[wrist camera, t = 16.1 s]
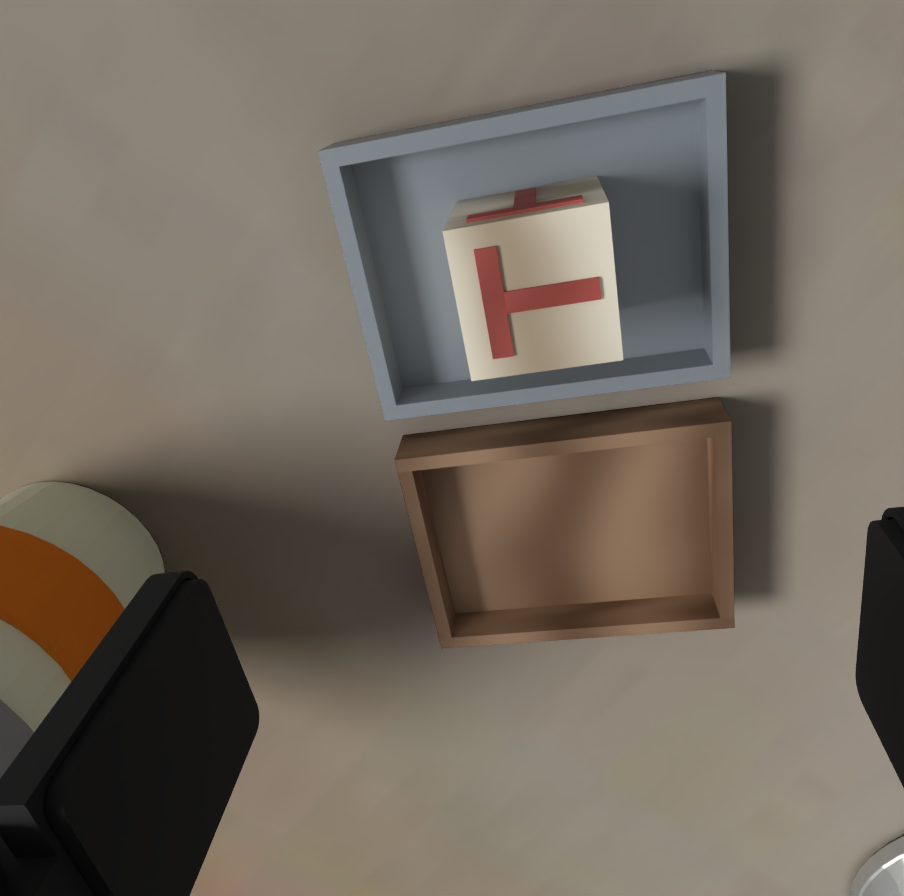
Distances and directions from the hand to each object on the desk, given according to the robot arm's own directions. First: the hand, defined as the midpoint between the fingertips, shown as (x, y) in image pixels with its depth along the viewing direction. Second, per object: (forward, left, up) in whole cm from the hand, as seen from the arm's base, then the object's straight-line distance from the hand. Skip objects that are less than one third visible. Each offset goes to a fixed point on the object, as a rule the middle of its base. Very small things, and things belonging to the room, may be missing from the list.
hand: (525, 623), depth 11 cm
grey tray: (0, 0, -20) cm, 20 cm away
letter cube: (0, 0, -20) cm, 20 cm away
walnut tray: (0, +12, -20) cm, 23 cm away
